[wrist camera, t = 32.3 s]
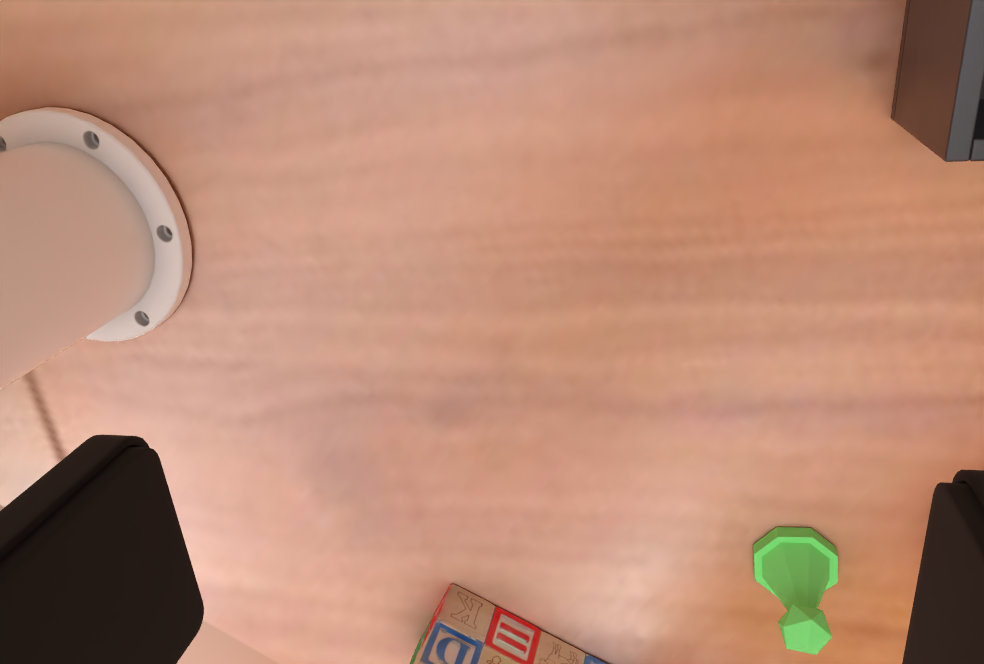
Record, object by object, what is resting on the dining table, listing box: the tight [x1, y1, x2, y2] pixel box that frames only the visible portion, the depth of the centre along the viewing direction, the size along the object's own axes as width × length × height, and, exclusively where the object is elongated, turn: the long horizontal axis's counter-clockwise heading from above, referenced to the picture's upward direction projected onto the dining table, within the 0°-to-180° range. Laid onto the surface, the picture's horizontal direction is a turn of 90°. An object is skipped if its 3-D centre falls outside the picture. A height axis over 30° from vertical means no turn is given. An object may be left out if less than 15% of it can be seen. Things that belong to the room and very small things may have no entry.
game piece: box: [753, 527, 838, 655], centre depth 38 cm, size 4×4×6 cm
